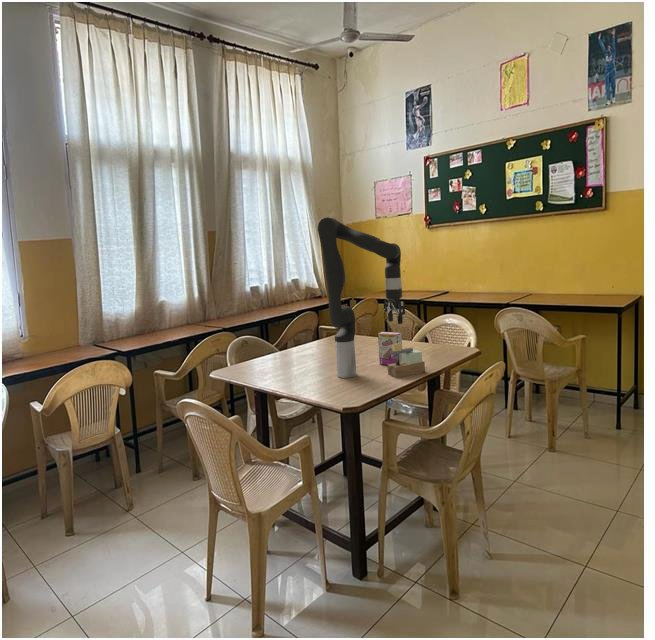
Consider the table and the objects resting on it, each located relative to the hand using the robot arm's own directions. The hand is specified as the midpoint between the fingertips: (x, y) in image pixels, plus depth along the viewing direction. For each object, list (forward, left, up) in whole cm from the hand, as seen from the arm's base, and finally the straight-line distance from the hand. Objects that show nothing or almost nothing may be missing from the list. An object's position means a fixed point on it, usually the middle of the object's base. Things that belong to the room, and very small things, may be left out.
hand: (395, 322), depth 233 cm
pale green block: (0, +8, -20) cm, 22 cm away
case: (0, +5, -25) cm, 26 cm away
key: (0, +3, -20) cm, 20 cm away
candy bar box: (-19, +8, -25) cm, 33 cm away
